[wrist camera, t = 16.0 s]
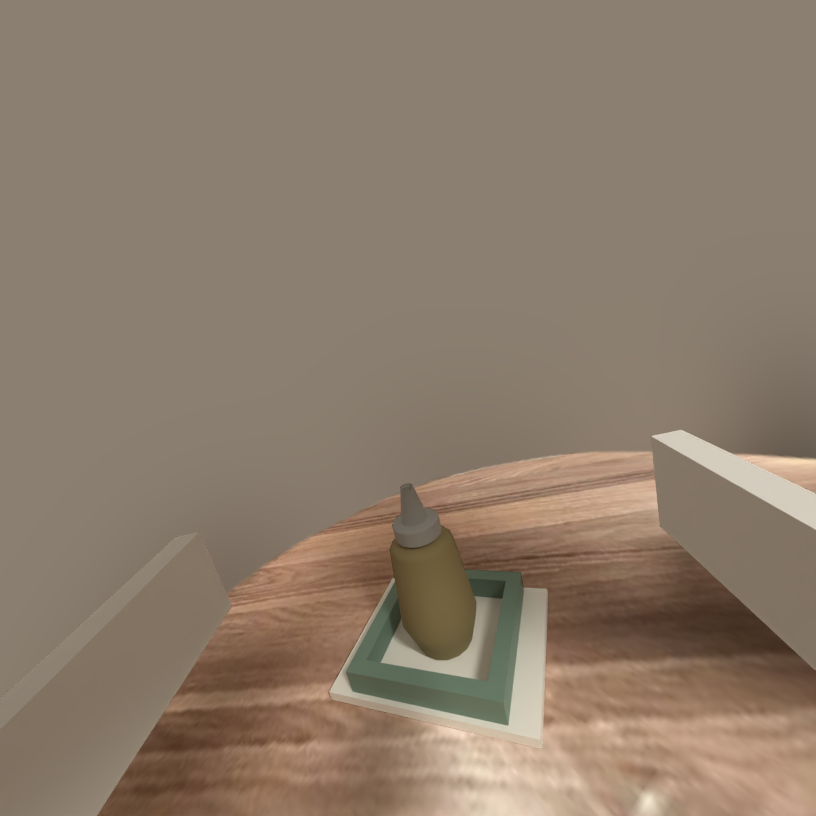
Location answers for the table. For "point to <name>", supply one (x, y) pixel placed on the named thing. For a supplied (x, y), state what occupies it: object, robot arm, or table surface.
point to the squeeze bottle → (431, 581)
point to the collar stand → (459, 665)
